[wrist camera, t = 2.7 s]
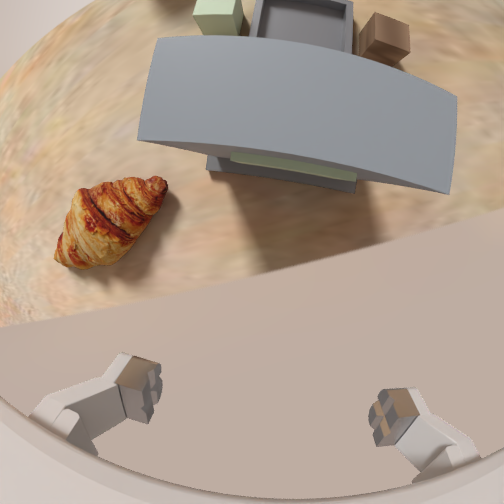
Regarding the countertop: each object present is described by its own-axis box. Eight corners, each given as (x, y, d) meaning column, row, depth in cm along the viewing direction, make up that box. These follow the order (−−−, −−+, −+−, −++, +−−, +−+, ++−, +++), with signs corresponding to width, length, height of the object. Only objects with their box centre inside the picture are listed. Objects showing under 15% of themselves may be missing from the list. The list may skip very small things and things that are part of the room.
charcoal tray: (348, 11, 22) (353, 1, 19) (344, 80, 25) (350, 73, 22) (260, -4, 22) (259, -15, 19) (247, 63, 25) (245, 55, 23)
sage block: (243, 14, 23) (238, -12, 17) (238, 38, 24) (232, 14, 18) (211, 13, 23) (200, -11, 17) (205, 38, 24) (192, 14, 18)
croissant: (86, 265, 38) (72, 304, 32) (42, 223, 31) (20, 261, 25) (191, 196, 33) (188, 236, 27) (143, 133, 27) (125, 160, 21)
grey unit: (361, 124, 26) (469, 79, 8) (351, 192, 29) (457, 230, 10) (218, 100, 27) (146, 16, 8) (208, 169, 29) (114, 173, 11)
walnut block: (389, 43, 23) (408, 25, 17) (389, 68, 24) (410, 52, 18) (359, 33, 23) (374, 12, 17) (358, 59, 24) (375, 39, 18)
